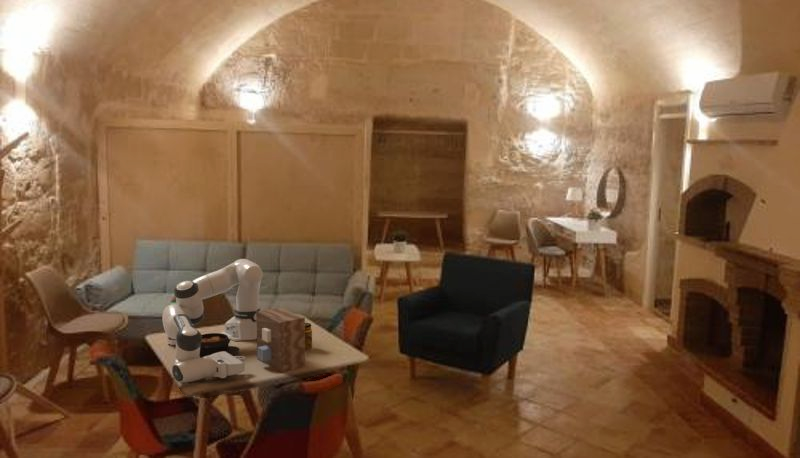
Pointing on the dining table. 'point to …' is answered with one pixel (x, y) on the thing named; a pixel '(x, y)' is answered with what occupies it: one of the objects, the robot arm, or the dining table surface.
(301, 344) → the block
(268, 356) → the blue cube
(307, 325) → the condiment
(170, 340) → the milk bottle
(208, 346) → the casserole
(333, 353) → the dining table surface
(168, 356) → the dining table surface
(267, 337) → the white cube
